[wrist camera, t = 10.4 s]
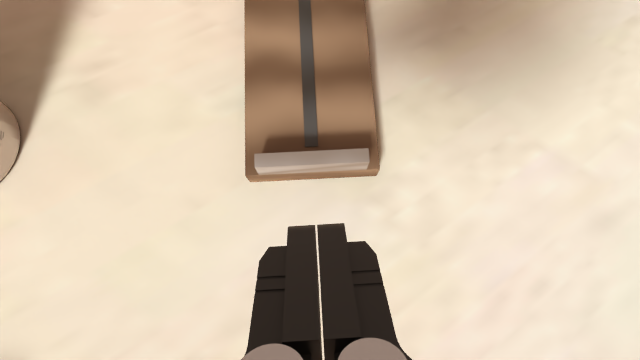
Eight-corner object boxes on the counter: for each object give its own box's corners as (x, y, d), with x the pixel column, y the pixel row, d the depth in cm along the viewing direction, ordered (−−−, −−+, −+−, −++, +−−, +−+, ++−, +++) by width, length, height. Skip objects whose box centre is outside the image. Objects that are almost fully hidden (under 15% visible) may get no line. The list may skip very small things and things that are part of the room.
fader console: (376, 175, 31) (384, 161, 27) (250, 182, 31) (240, 168, 27) (351, -104, 38) (354, -147, 34) (247, -99, 38) (239, -143, 34)
